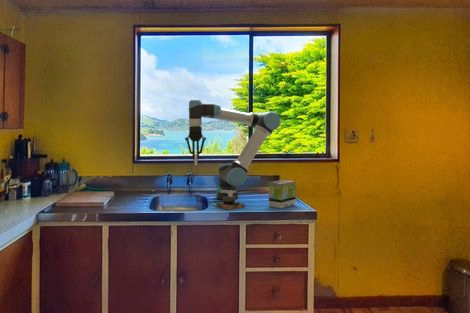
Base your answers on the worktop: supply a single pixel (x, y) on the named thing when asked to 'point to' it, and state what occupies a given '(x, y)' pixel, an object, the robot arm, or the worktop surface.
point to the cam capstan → (229, 198)
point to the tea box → (282, 193)
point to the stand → (230, 205)
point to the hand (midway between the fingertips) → (195, 165)
